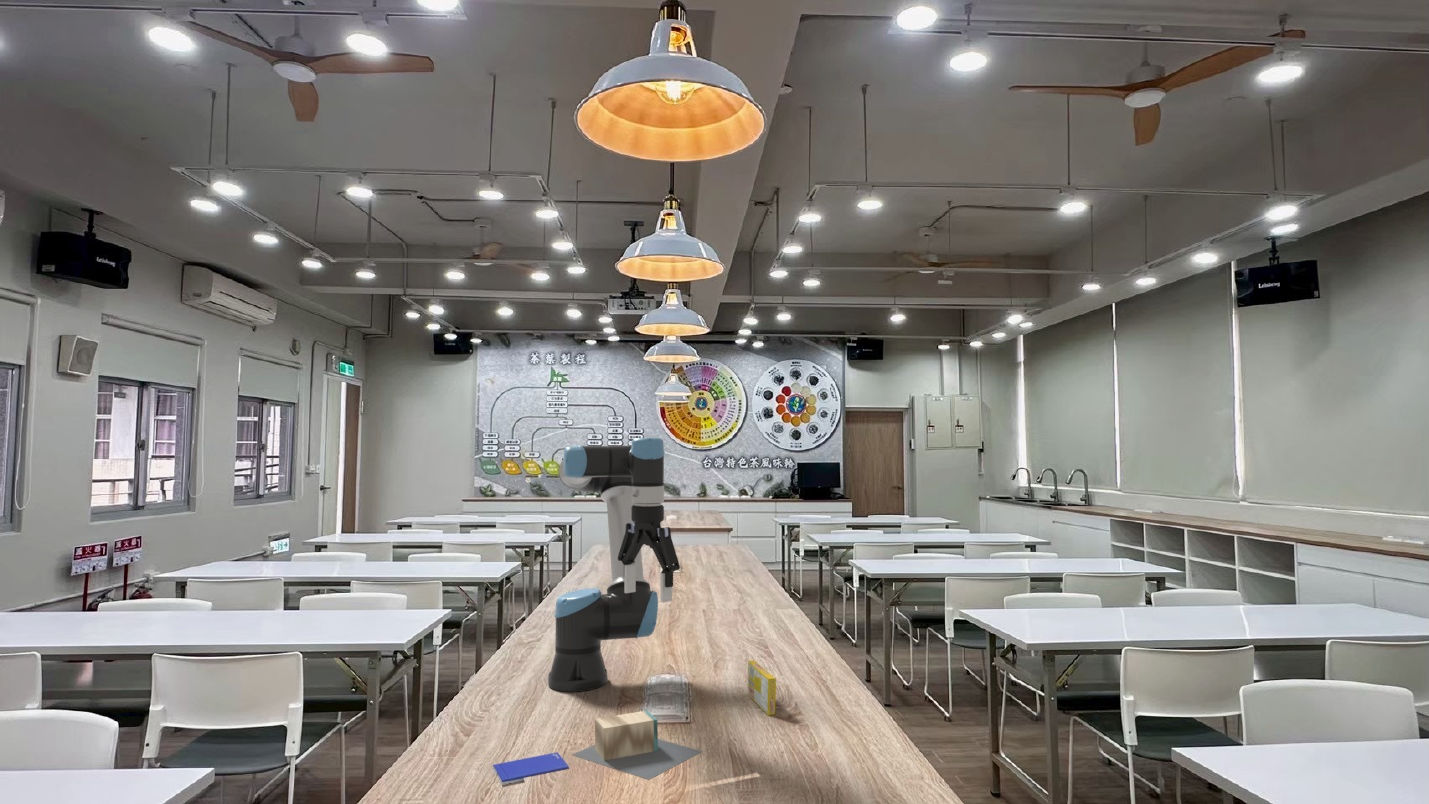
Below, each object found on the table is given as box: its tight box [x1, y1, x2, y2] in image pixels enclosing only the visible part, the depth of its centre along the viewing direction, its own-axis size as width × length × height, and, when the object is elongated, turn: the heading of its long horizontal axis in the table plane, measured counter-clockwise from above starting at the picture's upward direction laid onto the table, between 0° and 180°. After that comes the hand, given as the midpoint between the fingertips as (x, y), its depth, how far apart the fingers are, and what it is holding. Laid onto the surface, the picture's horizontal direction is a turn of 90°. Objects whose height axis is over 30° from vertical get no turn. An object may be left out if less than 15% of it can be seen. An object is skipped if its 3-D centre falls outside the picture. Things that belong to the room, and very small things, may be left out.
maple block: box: [594, 710, 659, 760], centre depth 153 cm, size 6×6×11 cm
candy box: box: [747, 660, 777, 716], centre depth 182 cm, size 16×2×8 cm, turn 15°
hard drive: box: [492, 752, 570, 786], centre depth 145 cm, size 2×8×12 cm
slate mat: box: [571, 738, 703, 781], centre depth 151 cm, size 20×16×1 cm
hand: (647, 596), depth 178 cm, fingers open, 13 cm apart
